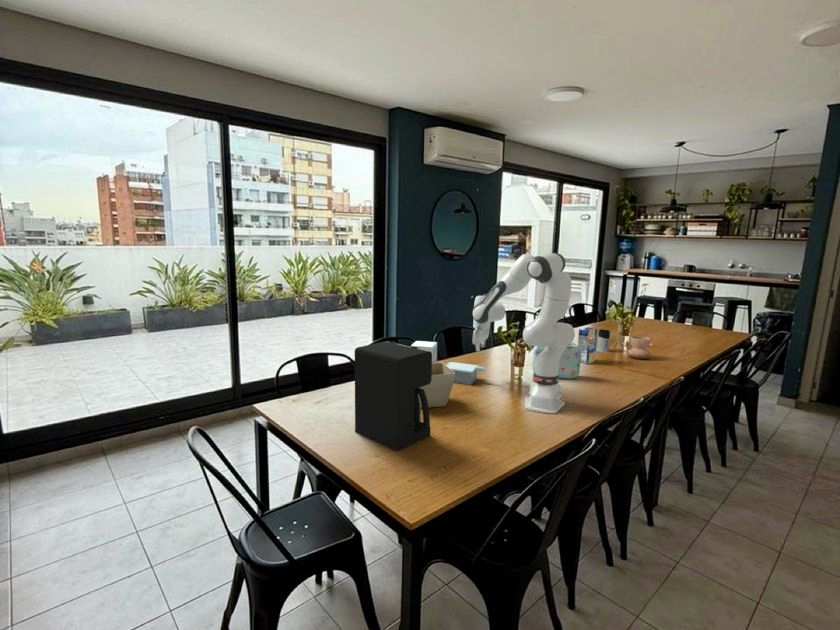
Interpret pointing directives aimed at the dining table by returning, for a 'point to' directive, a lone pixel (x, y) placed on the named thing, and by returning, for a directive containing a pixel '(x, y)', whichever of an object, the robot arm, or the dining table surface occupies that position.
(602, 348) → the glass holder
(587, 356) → the beverage box
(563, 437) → the dining table surface
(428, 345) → the supplement box
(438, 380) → the flower pot
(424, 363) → the coffee maker
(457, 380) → the tub
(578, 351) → the lunch box
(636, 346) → the ceramic jug
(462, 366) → the lid
